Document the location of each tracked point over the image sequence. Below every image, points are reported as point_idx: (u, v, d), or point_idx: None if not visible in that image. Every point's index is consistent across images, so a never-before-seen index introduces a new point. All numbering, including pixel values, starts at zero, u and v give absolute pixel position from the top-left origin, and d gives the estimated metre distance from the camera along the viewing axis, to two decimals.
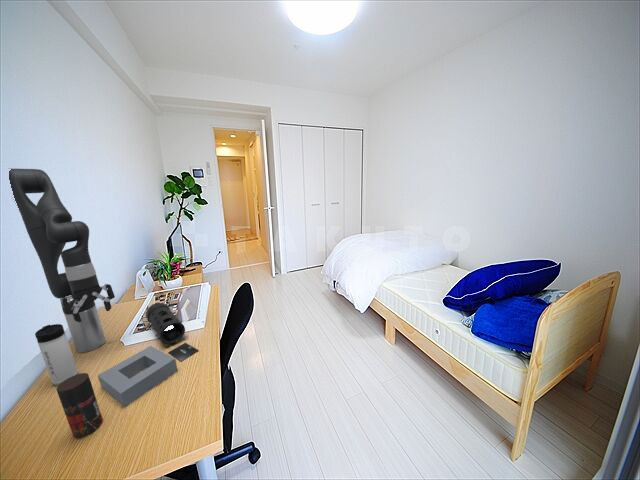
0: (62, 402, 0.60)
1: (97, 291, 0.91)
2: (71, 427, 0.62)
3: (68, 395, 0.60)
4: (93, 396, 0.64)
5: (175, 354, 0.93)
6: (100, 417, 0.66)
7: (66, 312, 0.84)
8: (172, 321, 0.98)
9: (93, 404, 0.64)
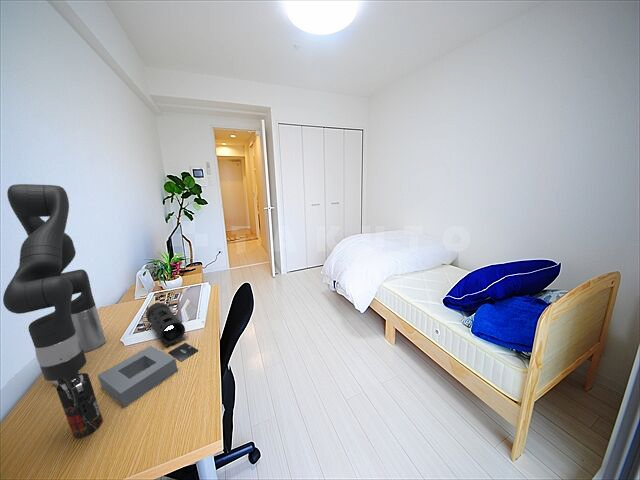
0: (62, 402, 0.60)
1: None
2: (71, 427, 0.62)
3: None
4: (93, 396, 0.64)
5: (175, 354, 0.93)
6: (100, 417, 0.66)
7: (89, 397, 0.61)
8: (172, 321, 0.98)
9: (94, 404, 0.64)
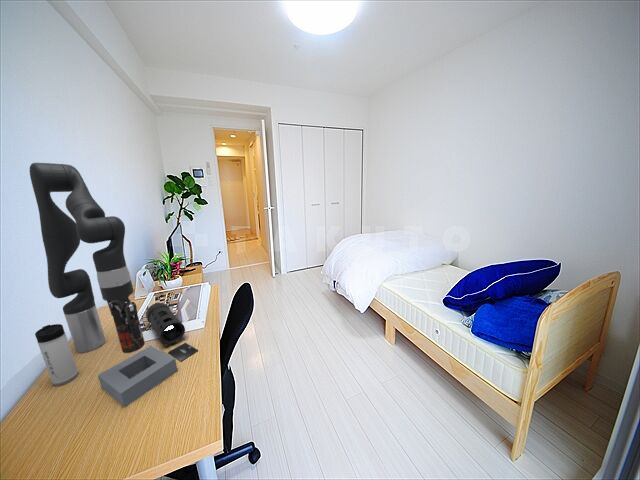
0: (115, 320, 0.74)
1: None
2: (122, 343, 0.76)
3: None
4: (138, 320, 0.78)
5: (175, 354, 0.93)
6: (143, 339, 0.80)
7: (137, 317, 0.74)
8: (172, 321, 0.98)
9: (138, 326, 0.78)
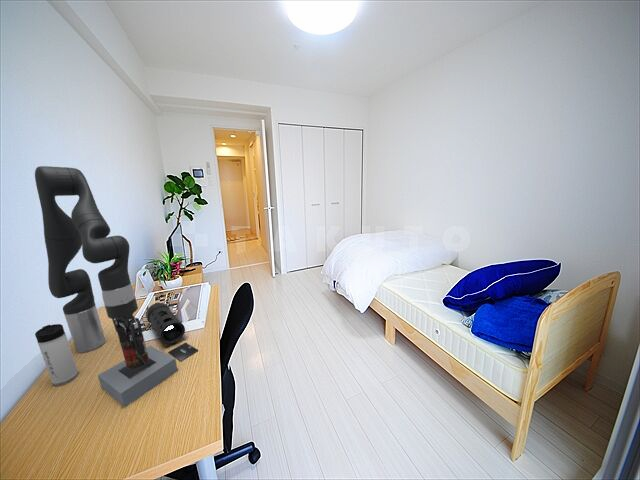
0: (120, 337, 0.75)
1: None
2: (126, 359, 0.77)
3: None
4: None
5: (175, 354, 0.93)
6: (147, 354, 0.81)
7: None
8: (172, 321, 0.98)
9: (143, 342, 0.79)
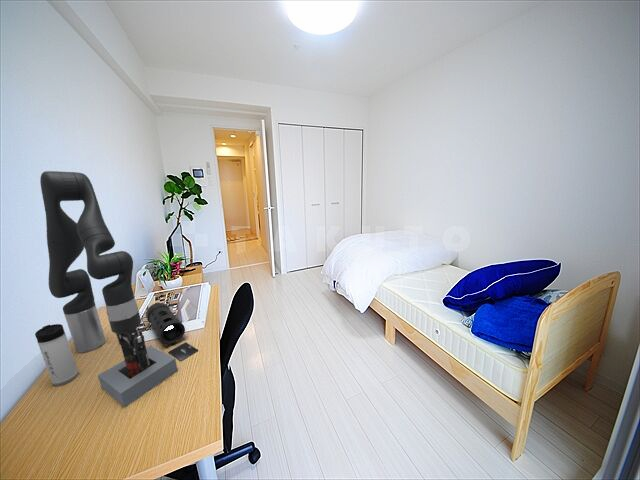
0: (124, 351, 0.76)
1: None
2: (130, 372, 0.78)
3: None
4: None
5: (175, 354, 0.93)
6: None
7: None
8: (172, 321, 0.98)
9: (146, 355, 0.81)
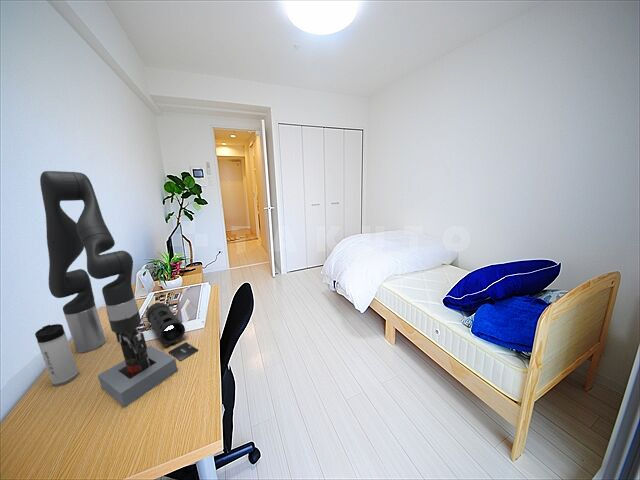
0: (125, 354, 0.77)
1: None
2: (130, 375, 0.78)
3: (130, 348, 0.76)
4: (146, 352, 0.81)
5: (175, 353, 0.93)
6: None
7: (146, 347, 0.76)
8: (172, 321, 0.98)
9: (147, 358, 0.81)
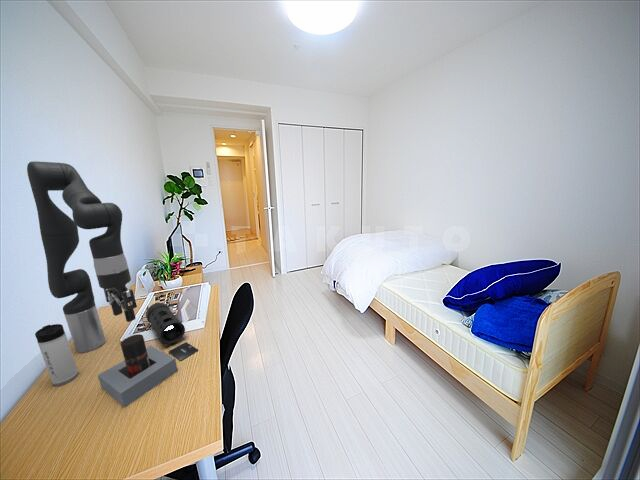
0: (125, 354, 0.77)
1: None
2: (130, 375, 0.78)
3: (130, 348, 0.76)
4: (146, 352, 0.81)
5: (175, 353, 0.93)
6: None
7: (136, 305, 0.73)
8: (172, 321, 0.98)
9: (147, 358, 0.81)
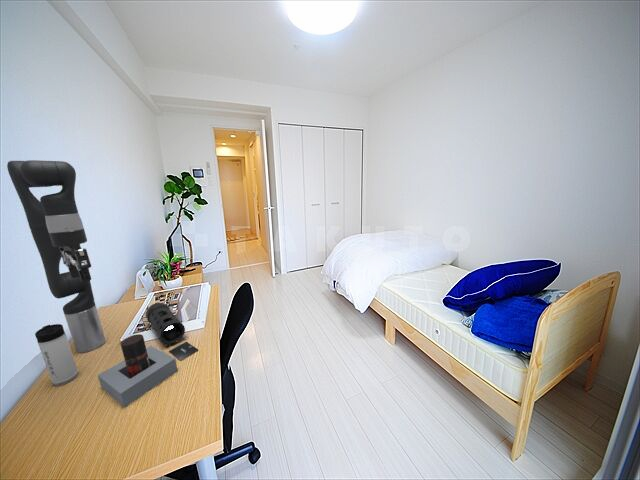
0: (125, 354, 0.77)
1: None
2: (130, 375, 0.78)
3: (130, 348, 0.76)
4: (146, 352, 0.81)
5: (175, 353, 0.93)
6: None
7: (90, 264, 0.73)
8: (172, 321, 0.98)
9: (147, 358, 0.81)
